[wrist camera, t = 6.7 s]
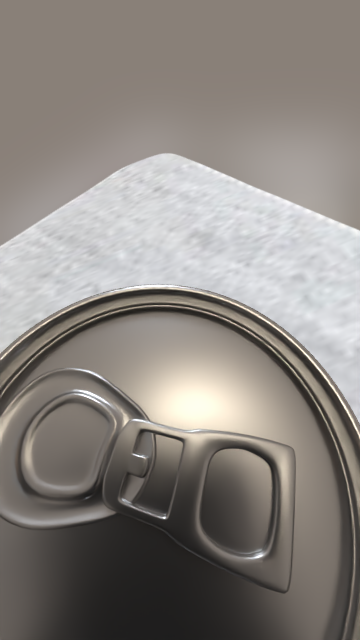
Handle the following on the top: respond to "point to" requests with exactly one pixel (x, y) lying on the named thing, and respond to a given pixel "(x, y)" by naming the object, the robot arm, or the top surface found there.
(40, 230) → the top surface
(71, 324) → the can
